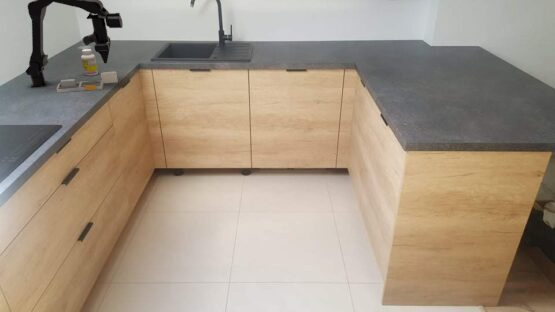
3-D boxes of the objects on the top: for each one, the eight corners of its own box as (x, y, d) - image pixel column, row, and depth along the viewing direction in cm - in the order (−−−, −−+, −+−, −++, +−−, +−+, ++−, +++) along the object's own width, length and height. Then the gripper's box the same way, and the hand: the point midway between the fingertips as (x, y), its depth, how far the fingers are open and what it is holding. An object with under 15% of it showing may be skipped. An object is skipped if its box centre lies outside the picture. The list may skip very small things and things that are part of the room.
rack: (59, 87, 197) (58, 82, 195) (103, 83, 202) (102, 79, 201) (57, 93, 190) (55, 88, 189) (102, 89, 195) (101, 84, 194)
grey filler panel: (63, 89, 195) (61, 80, 193) (77, 87, 197) (75, 78, 194) (62, 90, 193) (60, 81, 191) (76, 89, 194) (74, 80, 192)
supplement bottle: (83, 73, 216) (77, 49, 210) (95, 71, 220) (91, 47, 214) (87, 76, 212) (82, 52, 206) (100, 74, 216) (95, 50, 210)
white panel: (103, 82, 205) (101, 72, 202) (117, 81, 207) (116, 71, 204) (102, 83, 203) (100, 73, 200) (117, 82, 204) (115, 72, 202)
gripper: (83, 25, 198) (90, 57, 205) (79, 33, 182) (86, 67, 189) (107, 24, 201) (113, 55, 208) (105, 31, 185) (112, 65, 192)
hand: (106, 60), depth 199 cm, fingers open, 9 cm apart
